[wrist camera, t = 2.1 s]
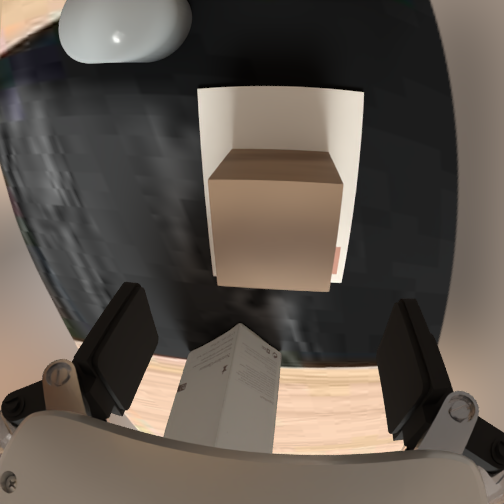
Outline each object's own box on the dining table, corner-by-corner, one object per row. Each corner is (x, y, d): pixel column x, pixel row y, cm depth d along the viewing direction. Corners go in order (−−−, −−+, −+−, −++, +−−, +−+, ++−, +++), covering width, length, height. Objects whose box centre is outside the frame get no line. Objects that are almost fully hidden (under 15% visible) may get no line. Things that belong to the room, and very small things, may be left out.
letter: (198, 88, 17) (197, 88, 16) (363, 92, 15) (363, 92, 15) (213, 274, 24) (213, 276, 24) (341, 281, 23) (341, 282, 23)
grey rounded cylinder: (115, -1, 13) (60, -13, 8) (191, -19, 12) (153, -49, 7) (116, 69, 16) (60, 75, 11) (193, 55, 15) (152, 49, 10)
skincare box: (240, 319, 27) (205, 483, 14) (285, 353, 28) (272, 501, 16) (186, 353, 30) (144, 481, 18) (228, 380, 32) (202, 502, 20)
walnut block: (231, 148, 18) (207, 179, 13) (328, 151, 18) (343, 184, 13) (235, 232, 22) (217, 285, 16) (321, 236, 21) (328, 291, 16)
